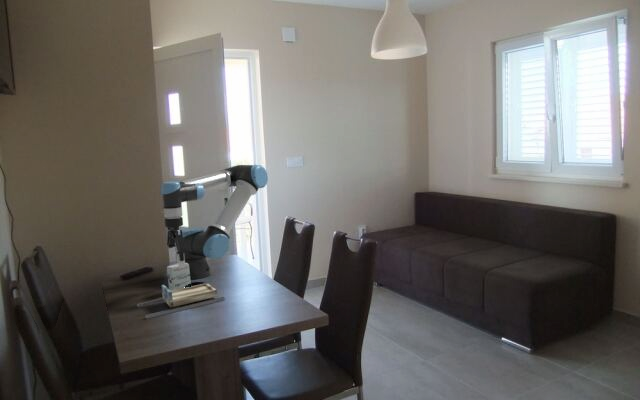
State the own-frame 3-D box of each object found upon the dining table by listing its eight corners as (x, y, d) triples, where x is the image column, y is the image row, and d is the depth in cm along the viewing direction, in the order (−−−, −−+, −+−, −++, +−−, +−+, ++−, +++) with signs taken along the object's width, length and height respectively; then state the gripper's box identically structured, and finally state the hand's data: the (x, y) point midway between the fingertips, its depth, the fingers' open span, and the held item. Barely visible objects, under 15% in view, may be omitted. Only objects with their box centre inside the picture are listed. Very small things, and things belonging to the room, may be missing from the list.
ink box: (186, 286, 210) (184, 261, 208) (191, 289, 206) (189, 263, 205) (168, 292, 204) (166, 266, 202) (173, 294, 200) (171, 267, 199)
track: (137, 306, 187) (137, 304, 187) (211, 290, 203) (210, 287, 203) (146, 318, 174) (146, 315, 173) (224, 300, 190) (224, 297, 190)
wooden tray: (163, 302, 190) (161, 285, 189) (207, 292, 201) (206, 275, 200) (171, 310, 180) (169, 292, 179) (217, 299, 191) (216, 282, 190)
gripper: (157, 215, 209) (161, 260, 212) (172, 222, 188) (176, 272, 191) (174, 213, 213) (177, 257, 216) (190, 219, 192) (194, 269, 195)
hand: (177, 264), depth 203 cm, fingers open, 13 cm apart
